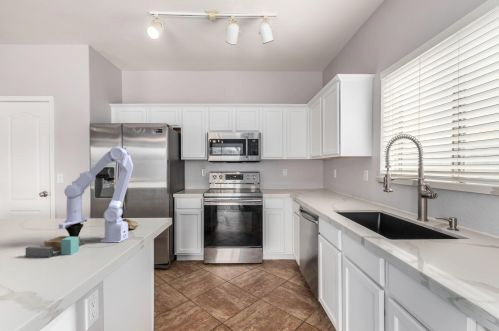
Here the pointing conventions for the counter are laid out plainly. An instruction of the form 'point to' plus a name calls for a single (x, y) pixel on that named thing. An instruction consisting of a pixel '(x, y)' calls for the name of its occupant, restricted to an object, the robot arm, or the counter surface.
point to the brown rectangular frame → (56, 242)
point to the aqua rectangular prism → (69, 245)
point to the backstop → (42, 251)
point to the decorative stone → (131, 224)
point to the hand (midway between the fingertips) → (74, 240)
